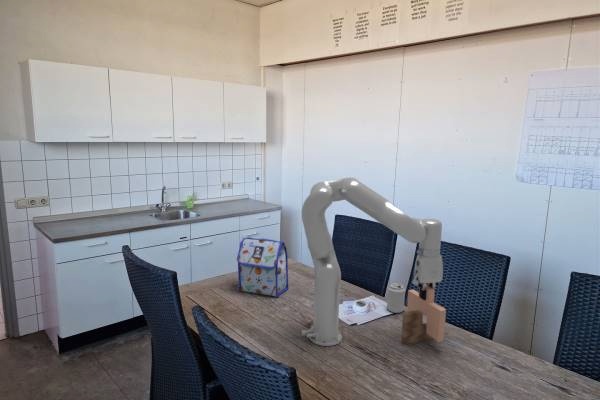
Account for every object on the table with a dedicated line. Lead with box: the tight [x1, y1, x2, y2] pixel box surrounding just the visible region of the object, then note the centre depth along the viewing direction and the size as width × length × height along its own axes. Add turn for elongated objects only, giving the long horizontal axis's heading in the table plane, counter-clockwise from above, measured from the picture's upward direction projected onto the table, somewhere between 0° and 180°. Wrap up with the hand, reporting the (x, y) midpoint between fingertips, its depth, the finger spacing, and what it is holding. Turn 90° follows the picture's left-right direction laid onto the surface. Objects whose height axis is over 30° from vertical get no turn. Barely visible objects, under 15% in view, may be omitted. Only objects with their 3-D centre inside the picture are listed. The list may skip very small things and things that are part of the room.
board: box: [400, 306, 447, 345], centre depth 156 cm, size 18×2×12 cm, turn 109°
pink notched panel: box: [406, 284, 447, 343], centre depth 155 cm, size 20×2×17 cm, turn 19°
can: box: [386, 282, 406, 314], centre depth 182 cm, size 8×8×12 cm
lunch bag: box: [236, 236, 290, 298], centre depth 200 cm, size 23×17×27 cm
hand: (426, 297), depth 154 cm, fingers closed on pink notched panel, 2 cm apart
